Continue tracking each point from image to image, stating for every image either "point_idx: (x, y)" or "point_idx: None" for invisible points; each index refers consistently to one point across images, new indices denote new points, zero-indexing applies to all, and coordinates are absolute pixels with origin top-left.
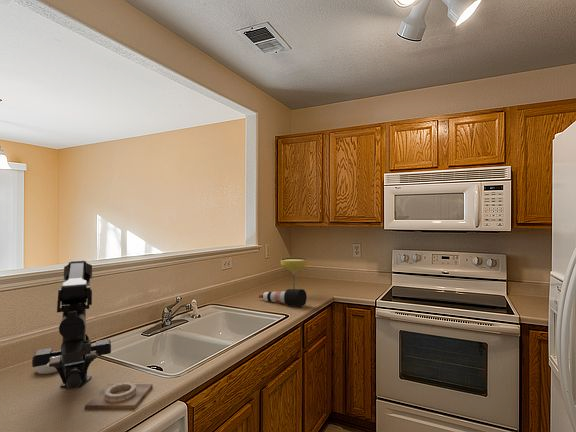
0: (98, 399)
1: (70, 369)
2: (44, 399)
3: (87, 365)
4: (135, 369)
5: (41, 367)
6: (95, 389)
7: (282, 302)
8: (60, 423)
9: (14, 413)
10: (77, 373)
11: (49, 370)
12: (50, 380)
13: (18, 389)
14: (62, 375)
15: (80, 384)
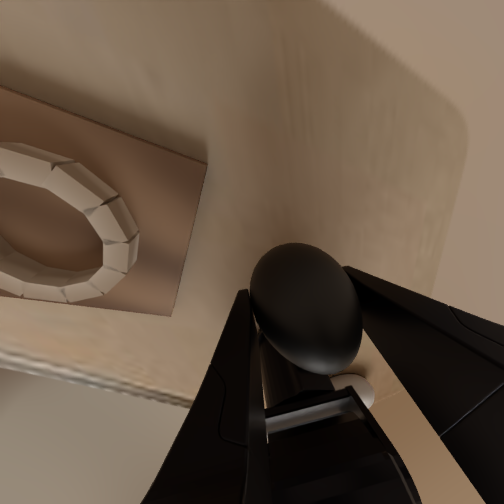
0: (157, 205)
1: (315, 381)
2: None
3: (205, 418)
4: (129, 382)
5: (366, 391)
6: (214, 302)
7: None
8: (289, 37)
9: (428, 218)
10: (293, 320)
11: (346, 382)
12: None
13: None
14: (413, 300)
15: None
